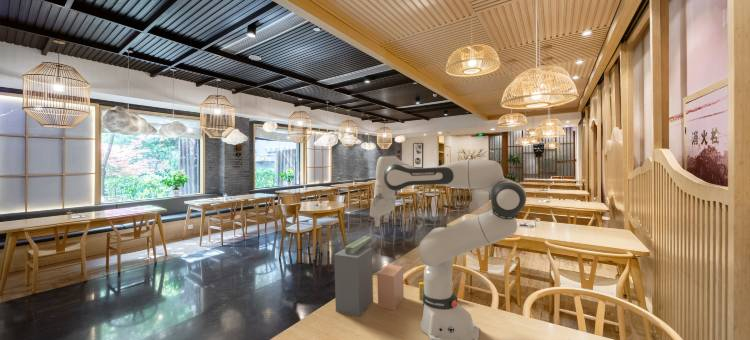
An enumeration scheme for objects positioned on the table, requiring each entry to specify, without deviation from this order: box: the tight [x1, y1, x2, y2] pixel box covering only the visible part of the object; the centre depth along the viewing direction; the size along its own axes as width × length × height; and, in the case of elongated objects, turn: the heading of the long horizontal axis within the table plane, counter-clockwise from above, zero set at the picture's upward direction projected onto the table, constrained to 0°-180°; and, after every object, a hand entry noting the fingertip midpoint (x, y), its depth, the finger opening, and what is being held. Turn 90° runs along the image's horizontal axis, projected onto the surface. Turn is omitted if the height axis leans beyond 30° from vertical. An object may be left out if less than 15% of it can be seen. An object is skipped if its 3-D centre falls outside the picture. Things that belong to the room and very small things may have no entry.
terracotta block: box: [376, 263, 405, 311], centre depth 133 cm, size 8×12×16 cm, turn 155°
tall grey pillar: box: [333, 246, 374, 318], centre depth 130 cm, size 12×14×26 cm
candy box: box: [418, 281, 454, 301], centre depth 135 cm, size 16×2×8 cm, turn 88°
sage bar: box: [344, 235, 373, 254], centre depth 134 cm, size 4×19×3 cm, turn 155°
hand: (381, 223), depth 122 cm, fingers open, 8 cm apart
